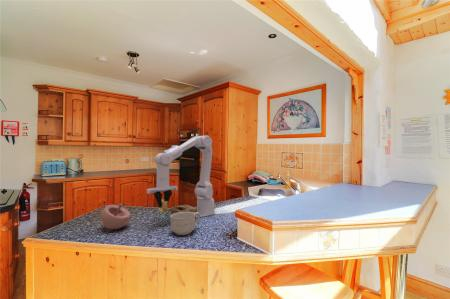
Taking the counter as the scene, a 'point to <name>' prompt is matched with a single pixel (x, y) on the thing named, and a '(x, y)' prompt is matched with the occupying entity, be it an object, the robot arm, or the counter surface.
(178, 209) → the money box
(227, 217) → the counter surface
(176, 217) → the teacup
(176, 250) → the counter surface
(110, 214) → the mortar and pestle
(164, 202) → the brass token
